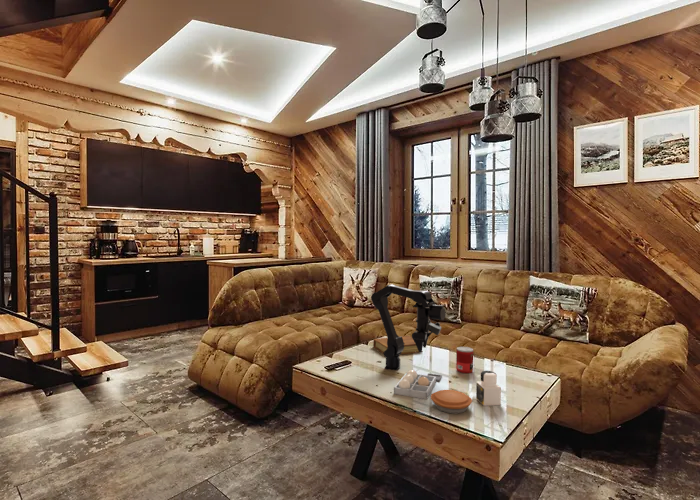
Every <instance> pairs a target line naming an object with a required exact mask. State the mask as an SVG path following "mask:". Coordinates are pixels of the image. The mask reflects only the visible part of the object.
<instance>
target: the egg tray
mask: <svg viewBox="0 0 700 500" xmlns="http://www.w3.org/2000/svg"><path fill="white" fill-rule="evenodd" d="M405 375H407V372H405V374H404V375H402V377H401V379H399V381H398V382H397V383H396V384H395V385H394V387H393V394H394V395H398V396H399V395H400V396H405V397H411V398H418V399H422V400H423V399H424V400H427V399H428V398H429V396H430V394H431V392H432V391H433V389H434V387H435V385H436V383H437V381H436V377H434V376H427V375H428V374H427V375H426V374H419V373H417V379H414V383H413V384H410V389H403V388H399V382H400V381H401V380H403V377H404V376H405ZM420 377H426V378H427V379H428V380H429V385H428V386H422V385H418V379H419V378H420Z"/></svg>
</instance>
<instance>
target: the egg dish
mask: <svg viewBox="0 0 700 500" xmlns="http://www.w3.org/2000/svg"><path fill="white" fill-rule="evenodd" d="M427 376H434V377H436V382H441V380H442V378H443V375H442V374H436V373H429V372H428V373H427Z"/></svg>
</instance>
